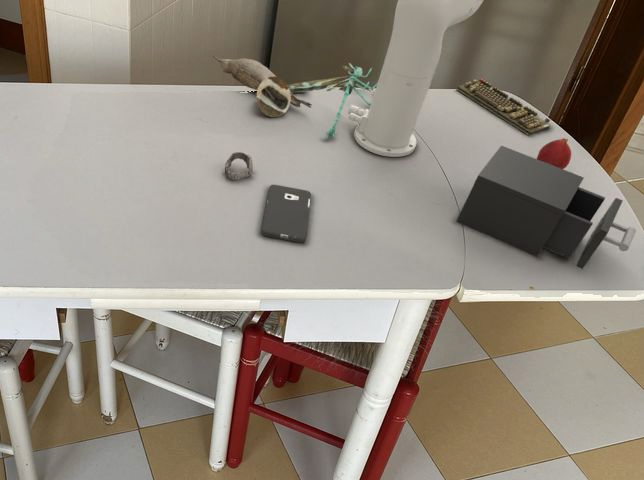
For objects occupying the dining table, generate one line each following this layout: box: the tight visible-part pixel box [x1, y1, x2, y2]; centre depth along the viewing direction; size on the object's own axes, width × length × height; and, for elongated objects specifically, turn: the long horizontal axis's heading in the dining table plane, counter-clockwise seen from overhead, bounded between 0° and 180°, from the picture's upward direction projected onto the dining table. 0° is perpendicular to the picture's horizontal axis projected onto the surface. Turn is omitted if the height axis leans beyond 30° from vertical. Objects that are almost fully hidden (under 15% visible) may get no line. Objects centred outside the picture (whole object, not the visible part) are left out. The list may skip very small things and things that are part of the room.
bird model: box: [212, 55, 313, 109], centre depth 149 cm, size 29×6×5 cm, turn 44°
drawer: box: [542, 186, 637, 270], centre depth 118 cm, size 18×12×8 cm, turn 54°
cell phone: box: [260, 184, 312, 244], centre depth 121 cm, size 8×15×1 cm, turn 169°
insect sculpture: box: [287, 62, 382, 141], centre depth 148 cm, size 6×20×30 cm
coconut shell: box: [254, 76, 291, 118], centre depth 144 cm, size 8×8×6 cm
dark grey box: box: [456, 145, 585, 258], centre depth 121 cm, size 15×13×10 cm
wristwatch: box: [224, 151, 254, 181], centre depth 127 cm, size 4×6×5 cm
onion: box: [536, 137, 572, 170], centre depth 134 cm, size 6×6×8 cm
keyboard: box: [455, 78, 551, 136], centre depth 154 cm, size 22×9×2 cm, turn 30°
